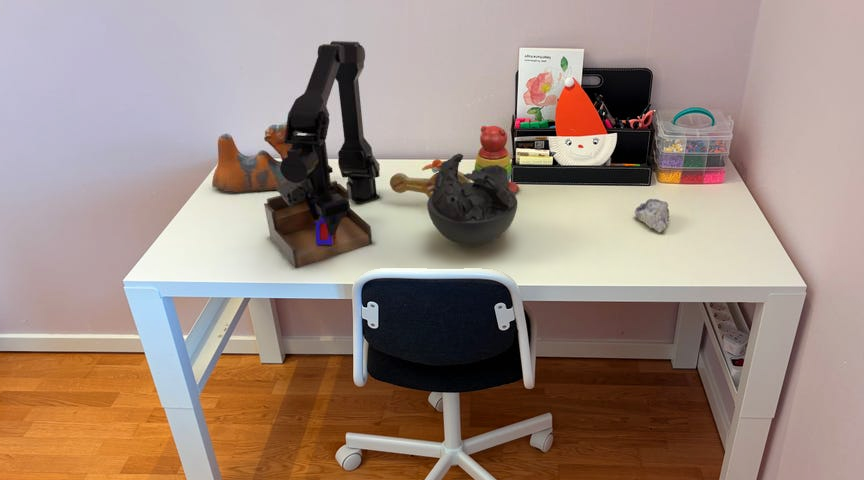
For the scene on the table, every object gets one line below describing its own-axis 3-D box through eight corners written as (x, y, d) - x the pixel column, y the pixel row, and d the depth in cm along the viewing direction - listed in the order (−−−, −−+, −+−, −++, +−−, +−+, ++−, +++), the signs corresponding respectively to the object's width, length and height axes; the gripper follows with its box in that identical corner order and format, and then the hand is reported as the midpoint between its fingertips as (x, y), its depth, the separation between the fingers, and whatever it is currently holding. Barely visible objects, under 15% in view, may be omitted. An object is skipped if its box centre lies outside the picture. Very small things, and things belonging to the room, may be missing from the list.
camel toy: (207, 194, 191) (193, 131, 182) (228, 172, 202) (215, 112, 193) (299, 197, 188) (288, 134, 179) (315, 176, 199) (306, 115, 190)
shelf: (343, 216, 178) (338, 179, 173) (372, 243, 167) (368, 204, 161) (270, 238, 170) (263, 199, 165) (295, 268, 159) (288, 227, 153)
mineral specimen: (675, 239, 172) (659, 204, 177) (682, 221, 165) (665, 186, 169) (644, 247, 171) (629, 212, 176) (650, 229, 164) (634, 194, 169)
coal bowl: (520, 262, 158) (521, 183, 148) (428, 264, 158) (423, 186, 148) (513, 218, 175) (514, 145, 165) (430, 221, 175) (426, 147, 165)
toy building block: (336, 243, 165) (335, 208, 165) (332, 244, 161) (331, 208, 160) (320, 243, 165) (320, 208, 165) (316, 244, 161) (315, 208, 161)
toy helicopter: (466, 220, 175) (464, 167, 168) (386, 210, 181) (381, 159, 173) (475, 205, 182) (474, 154, 174) (398, 196, 187) (394, 146, 180)
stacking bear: (521, 189, 189) (523, 123, 179) (502, 204, 182) (502, 137, 172) (486, 180, 194) (485, 116, 184) (465, 195, 187) (463, 129, 177)
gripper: (263, 157, 158) (275, 221, 166) (294, 188, 145) (305, 255, 153) (311, 145, 163) (320, 208, 171) (346, 174, 150) (354, 240, 158)
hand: (324, 227), depth 163 cm, fingers open, 9 cm apart
